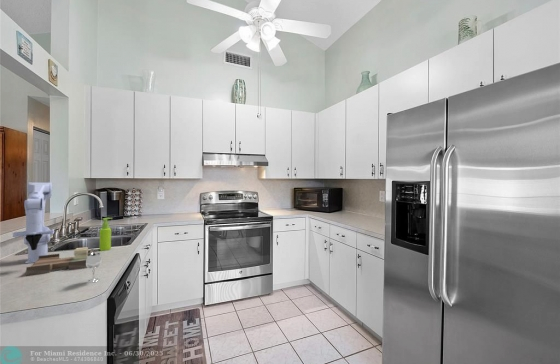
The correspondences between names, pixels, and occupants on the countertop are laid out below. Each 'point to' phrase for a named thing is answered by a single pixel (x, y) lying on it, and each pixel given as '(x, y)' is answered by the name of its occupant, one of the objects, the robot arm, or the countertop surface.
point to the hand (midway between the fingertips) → (34, 249)
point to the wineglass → (93, 264)
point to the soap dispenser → (105, 236)
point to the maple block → (80, 253)
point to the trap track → (55, 264)
